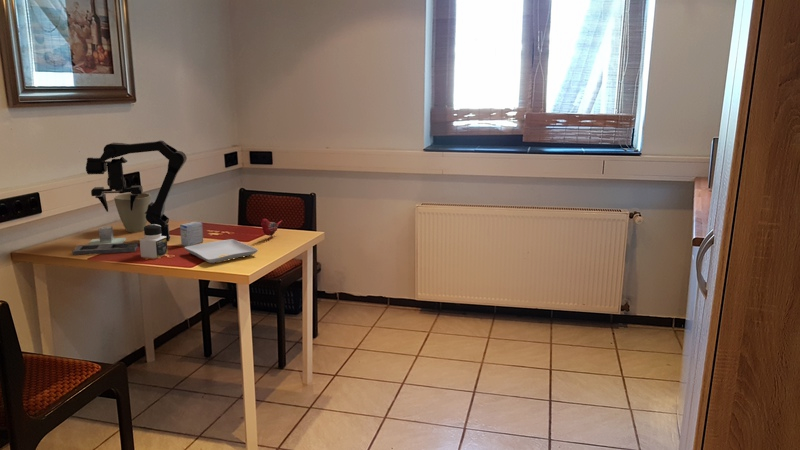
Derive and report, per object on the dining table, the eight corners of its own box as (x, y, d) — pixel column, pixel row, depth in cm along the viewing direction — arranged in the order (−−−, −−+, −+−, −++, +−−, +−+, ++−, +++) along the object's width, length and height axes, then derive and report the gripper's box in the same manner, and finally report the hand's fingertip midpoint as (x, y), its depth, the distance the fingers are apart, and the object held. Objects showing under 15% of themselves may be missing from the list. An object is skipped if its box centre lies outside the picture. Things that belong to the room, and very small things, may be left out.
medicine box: (196, 240, 250) (195, 221, 248) (203, 242, 248) (202, 222, 246) (181, 245, 244) (179, 224, 242) (188, 246, 242) (187, 226, 240)
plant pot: (116, 228, 268) (112, 194, 265) (151, 225, 275) (148, 191, 271) (118, 236, 255) (114, 199, 252) (154, 232, 262) (152, 197, 259)
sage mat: (126, 239, 251) (126, 237, 251) (122, 245, 242) (121, 243, 241) (92, 240, 247) (92, 239, 247) (87, 246, 238) (86, 245, 238)
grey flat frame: (138, 245, 241) (137, 242, 241) (134, 251, 232) (134, 248, 232) (78, 248, 235) (78, 245, 235) (72, 255, 227) (72, 251, 226)
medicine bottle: (157, 258, 224) (155, 228, 222) (140, 257, 226) (138, 226, 223) (168, 253, 231) (166, 223, 228) (151, 252, 233) (149, 222, 230)
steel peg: (113, 239, 247) (112, 226, 246) (111, 242, 243) (110, 228, 241) (102, 240, 246) (100, 226, 244) (100, 243, 242) (98, 228, 240)
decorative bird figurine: (258, 242, 250) (257, 219, 247) (280, 233, 266) (279, 211, 264) (264, 243, 249) (263, 220, 247) (285, 233, 265) (285, 212, 263)
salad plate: (259, 257, 230) (259, 248, 230) (209, 267, 216) (208, 258, 215) (232, 246, 245) (232, 238, 244) (183, 255, 231) (182, 246, 230)
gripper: (142, 170, 252) (146, 206, 255) (94, 172, 247) (98, 208, 250) (139, 174, 241) (142, 211, 245) (88, 175, 236) (93, 213, 240)
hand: (119, 211), depth 245 cm, fingers open, 9 cm apart
